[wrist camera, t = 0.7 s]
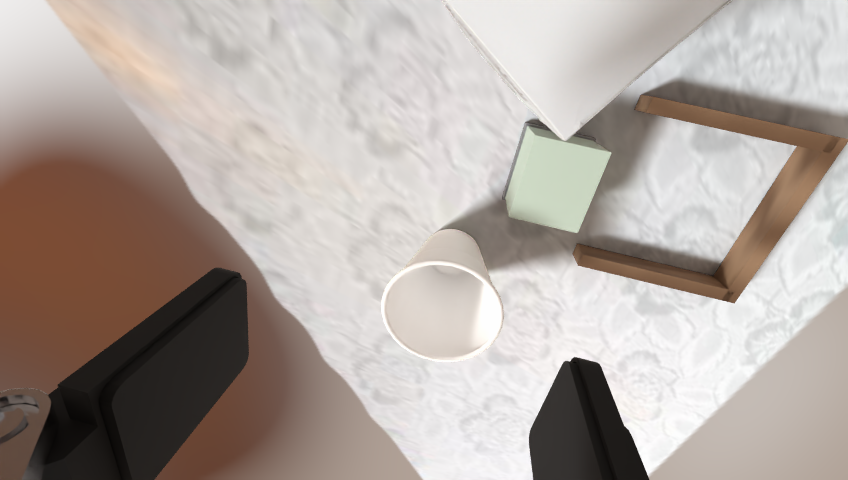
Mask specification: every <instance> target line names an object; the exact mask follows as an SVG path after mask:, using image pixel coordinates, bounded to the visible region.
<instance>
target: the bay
mask: <svg viewBox="0 0 848 480" xmlns="http://www.w3.org/2000/svg"><path fill="white" fill-rule="evenodd" d="M634 110H638V111H642V112H646V113H650V114H655V115H659V116H664V117H668V118H673V119H677V120H682V121H686V122H691V123H695V124H700V125H704V126H709V127H714V128H718V129H723V130H727V131H732V132H736V133H741V134H745V135H750V136H754V137H759V138H763V139H768V140H772V141H777V142H781V143H786V144H790V145H795V146H797V147H796V149H795V150H794V152H793V153H792V155H791V156H790V158H789V159H788V161H787V163H786V164H785V166H784V167H783V169H782V170H781V172H780V173H779V175H778V176H777V178H776V180H775V181H774V183H773V184H772V186H771V187H770V189H769V190H768V192H767V194H766V195H765V197H764V198H763V200H762V201H761V203H760V204H759V206H758V208H757V209H756V211H755V212H754V214H753V215H752V217H751V218H750V220H749V221H748V223H747V225H746V226H745V228H744V229H743V231H742V232H741V234H740V235H739V237H738V239H737V240H736V242H735V243H734V245H733V246H732V248H731V249H730V251H729V253H728V254H727V256H726V257H725V259H724V260H723V262H722V263H721V265H720V266H719V268H718V270H717V271H716V273H715V274H714V276H711V275H706V274H702V273H698V272H694V271H690V270H686V269H681V268H677V267H673V266H669V265H665V264H660V263H656V262H652V261H648V260H644V259H640V258H635V257H631V256H627V255H623V254H619V253H615V252H610V251H606V250H602V249H598V248H594V247H589V246H585V245H581V244H576V247H575V249H574V251H573V256H574V258H575V260H576V262H577V264H578V266H582V267H586V268H591V269H595V270H599V271H603V272H607V273H611V274H615V275H619V276H624V277H628V278H632V279H636V280H640V281H644V282H648V283H652V284H657V285H661V286H665V287H669V288H673V289H677V290H681V291H686V292H690V293H694V294H698V295H702V296H706V297H710V298H714V299H719V300H723V301H727V302H731V303H735V302H736V300H737V299H738V297H739V296H740V295H741V293H742V292H743V290H744V289H745V287H746V286H747V285H748V283H749V282H750V280H751V279H752V277H753V276H754V275H755V273H756V272H757V270H758V269H759V267H760V266H761V265H762V263H763V262H764V260H765V259H766V257H767V256H768V255H769V253H770V252H771V250H772V249H773V248H774V246H775V245H776V243H777V242H778V240H779V239H780V238H781V236H782V235H783V233H784V232H785V230H786V229H787V228H788V226H789V225H790V223H791V222H792V220H793V219H794V218H795V216H796V215H797V213H798V212H799V210H800V209H801V208H802V206H803V205H804V203H805V202H806V200H807V199H808V198H809V196H810V195H811V193H812V192H813V190H814V189H815V188H816V186H817V185H818V183H819V182H820V181H821V179H822V178H823V176H824V175H825V173H826V172H827V171H828V169H829V168H830V166H831V165H832V163H833V162H834V161H835V159H836V158H837V156H838V155H839V153H840V152H841V151H842V149H843V148H844V146H845V145H846V143H847V142H848V139H845V138H840V137H835V136H831V135H826V134H822V133H817V132H813V131H808V130H804V129H799V128H794V127H790V126H785V125H781V124H776V123H772V122H767V121H762V120H758V119H753V118H749V117H744V116H740V115H735V114H730V113H726V112H721V111H717V110H712V109H708V108H703V107H698V106H694V105H689V104H685V103H680V102H676V101H671V100H666V99H662V98H657V97H652V96H646V95H641V96H640V98H639V100H638V103H637V105H636V107H635V109H634Z"/></svg>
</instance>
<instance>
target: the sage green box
mask: <svg viewBox="0 0 848 480" xmlns="http://www.w3.org/2000/svg"><path fill="white" fill-rule="evenodd" d="M595 140H596V139H595V138H594V137H589V136H585V135H580V134H576V133H575V134H574V135H573V136H572V137H570V138H569V139H568V140H566V141H564V140H562V139H561V138H559V137H558V136H557V135H556V134H555V133H554V132H553V131H552V130H551V129H550V128H549V127H544V126H540V125H535V124H531V123H526V122H525V124H524V128H523V131H522V134H521V137H520V141H519V144H518V147H517V150H516V154H515V157H514V160H513V163H512V167H511V170H510V173H509V177H508V180H507V183H506V186H505V190H504V193H503V196H502V199H504V200H506V205H507V210H508V216H509V217H510V218H514V219H519V220H523V221H527V222H531V223H536V224H540V225H544V226H548V227H553V228H557V229H561V230H565V231H570V232H574V233H578V231H579V229H580V227H581V224H582V222H583V220H584V217H585V215H586V212H587V210H588V208H589V205H590V203H591V201H592V198H593V196H594V193H595V191H596V189H597V186H598V184H599V182H600V179H601V177H602V175H603V172H604V170H605V167H606V165H607V163H608V160H609V158H610V156H611V153H612V152H610V151H609V150H607V149H605V148H604V147H602V146H601V145H599V144H597V143H596V142H595Z"/></svg>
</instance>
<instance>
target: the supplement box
mask: <svg viewBox="0 0 848 480" xmlns="http://www.w3.org/2000/svg"><path fill="white" fill-rule="evenodd" d="M441 1H442V2H443V4H444V5H445V7H446V8H447V10H448V11H449V13H450V14H451V16H452V17H453V19H454V20H455V22H456V23H457V25H458V26H459V28H460V30H461V31H462V33H463V34H464V36H465V37H466V38H467V39H468V41H469V42H470V43H471V44H472V46H473V47H474V48H475V49H476V50H477V52H478V53H479V54H480V55H481V56H482V57H483V59H484V60H485V61H486V62H487V63H488V64H489V66H490V67H491V68H492V69H493V70H494V71H495V72H496V74H497V75H498V76H499V77H500V78H501V79H502V80H503V82H504V83H505V84H506V85H507V86H508V87H509V88H510V89H511V91H512V92H513V93H514V94H515V95H516V96H517V97H518V98H519V99H520V101H521V102H522V103H523V104H524V105H525V106H526V107H527V108H528V109H529V110H530V111H532V112H533V113H534V114H535V115H536V116H537V117H538V119H539V120H540V121H541V122H543V123H544V124H545V125H546V126H548V127H549V128H550V129H551V130H552V131H553V132H554V133H555V134H556V135H557V136H558V137H559V138H561V139H562V140H564V141H566V140H568V139H569V138H570V137H572V136H573V135H574V134H575V133H576V132H577V131H578V130H579V129H580V128H581V127H583V126H584V125H585V124H586V123H587V122H588V121H589V120H590V119H592V118H593V117H594V116H595V115H596V114H597V113H598V112H599V111H601V110H602V109H603V108H604V107H605V106H606V105H608V104H609V103H610V102H611V101H612V100H613V99H615V98H616V97H617V96H618V95H619V94H620V93H621V92H623V91H624V90H625V89H626V88H627V87H628V86H629V85H631V84H632V83H633V82H634V81H635V80H636V79H638V78H639V77H640V76H641V75H642V74H643V73H645V72H646V71H647V70H648V69H649V68H651V67H652V66H653V65H654V64H655V63H657V62H658V61H659V60H660V59H661V58H662V57H664V56H665V55H666V54H667V53H668V52H670V51H671V50H672V49H673V48H675V47H676V46H677V45H678V44H679V43H681V42H682V41H683V40H684V39H686V38H687V37H688V36H689V35H690V34H692V33H693V32H694V31H695V30H697V29H698V28H699V27H700V26H701V25H703V24H704V23H705V22H706V21H708V20H709V19H710V18H711V17H713V16H714V15H715V14H716V13H717V12H719V11H720V10H721V9H722V8H724V7H725V6H726V5H727V4H729V3H730V2H731V1H732V0H441Z"/></svg>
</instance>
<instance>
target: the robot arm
mask: <svg viewBox="0 0 848 480" xmlns="http://www.w3.org/2000/svg"><path fill="white" fill-rule="evenodd" d="M248 351H249V349H248V318H247V287H246V281H245V280H243V279H242V278H241V275H240V273H238V272H234V271H230V270H226V269H222V268H214V269H212V270H211V271H210V272H208V273H207V274H206V275H204V276H203V277H202V278H200V279H199V280H198V281H196V282H195V283H193V284H192V285H191V286H190V287H188V288H187V289H185V291H183V292H181V293H180V294H179V295H177V296H176V297H175V298H174V299H172V300H171V301H169V302H168V303H167V304H165V305H164V306H163V307H161V308H160V309H159V310H157V311H156V312H155V313H153V314H152V315H151V316H149V317H148V318H146V319H145V320H144V321H142V322H141V323H140V324H139V325H137V326H136V327H134V328H133V329H132V330H130V331H129V332H128V333H126V334H125V335H124V336H122V337H121V338H120V339H118V340H117V341H116V342H114V343H113V344H112V345H110V346H109V347H108V348H106V349H105V350H104V351H102V352H101V353H99V354H98V355H97V356H95V357H94V358H93V359H91V360H90V361H89V362H88V363H86V364H85V365H84V366H82V367H81V368H79V369H78V370H77V371H75V372H74V373H73V374H71V375H70V376H69V377H67V378H66V379H65V380H63V381H62V382H61V383H60V384H58V388H57V389H55V390H54V391H53V392H51V393H50V394H49V395H48V394H46V393H44V392H42V391H40V390H38V389H31V388H20V389H10V390H6V391H1V392H0V480H154V479H155V478H156V477H157V475H158V474H159V473H160V472H161V471H162V469H163V468H164V467H165V466H166V464H167V463H168V462H169V461H170V459H171V458H172V457H173V456H174V454H175V453H176V452H177V451H178V449H179V448H180V447H181V445H182V444H183V443H184V442H185V441H186V439H187V438H188V437H189V436H190V434H191V433H192V432H193V430H194V429H195V428H196V427H197V425H198V424H199V423H200V422H201V421H202V419H203V418H204V417H205V415H206V414H207V413H208V412H209V411H210V409H211V408H212V407H213V405H214V404H215V403H216V402H217V401H218V399H219V398H220V397H221V396H222V394H223V393H224V392H225V391H226V389H227V388H228V387H229V386H230V384H231V383H232V382H233V380H234V379H235V378H236V377H237V375H238V374H239V373H240V372H241V371H242V369H243V368H244V366H245V365H246V362H247V360H248V355H249V352H248ZM529 447H530V456H531V464H532V472H533V480H649V478H648V475H647V473H646V470H645V468H644V465H643V463H642V460H641V458H640V455H639V453H638V450H637V448H636V445H635V443H634V440H633V438H632V436H631V434H630V432H629V430H628V429H627V428H626V427H625V426H624V424H623V422H622V419H621V417H620V414H619V412H618V409H617V406H616V404H615V401H614V399H613V396H612V394H611V391H610V389H609V386H608V383H607V381H606V378H605V376H604V373H603V371H602V368H601V366H600V364H598V363H597V362H593V361H589V360H585V359H581V358H577V357H574V358H573V359H572V360H571V361H570V362H569V361H565V362H564V363H563V364H562V366H561V368H560V370H559V372H558V374H557V376H556V378H555V380H554V383H553V385H552V387H551V389H550V391H549V393H548V395H547V397H546V399H545V401H544V403H543V405H542V407H541V409H540V411H539V413H538V415H537V417H536V419H535V421H534V423H533V425H532V427H531V430H530V435H529Z"/></svg>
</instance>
